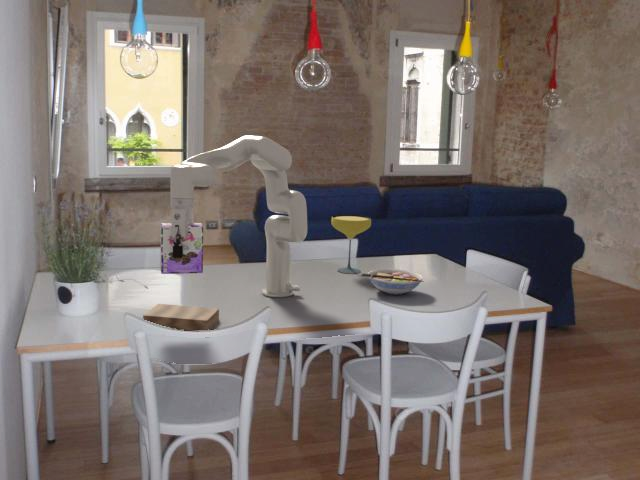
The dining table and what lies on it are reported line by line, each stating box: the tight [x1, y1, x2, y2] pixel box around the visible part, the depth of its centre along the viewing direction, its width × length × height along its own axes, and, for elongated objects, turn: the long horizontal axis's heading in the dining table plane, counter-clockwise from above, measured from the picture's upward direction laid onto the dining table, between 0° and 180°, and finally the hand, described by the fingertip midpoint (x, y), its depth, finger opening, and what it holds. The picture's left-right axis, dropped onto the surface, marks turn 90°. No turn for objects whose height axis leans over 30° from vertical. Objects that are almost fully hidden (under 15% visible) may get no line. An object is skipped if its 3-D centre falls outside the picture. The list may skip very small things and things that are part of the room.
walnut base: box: [142, 303, 220, 331], centre depth 242 cm, size 22×14×4 cm, turn 82°
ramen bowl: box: [360, 268, 424, 296], centre depth 291 cm, size 25×23×8 cm
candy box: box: [160, 222, 204, 275], centre depth 237 cm, size 14×6×16 cm, turn 105°
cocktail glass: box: [330, 213, 372, 274], centre depth 324 cm, size 18×18×25 cm
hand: (181, 254), depth 237 cm, fingers closed on candy box, 7 cm apart
